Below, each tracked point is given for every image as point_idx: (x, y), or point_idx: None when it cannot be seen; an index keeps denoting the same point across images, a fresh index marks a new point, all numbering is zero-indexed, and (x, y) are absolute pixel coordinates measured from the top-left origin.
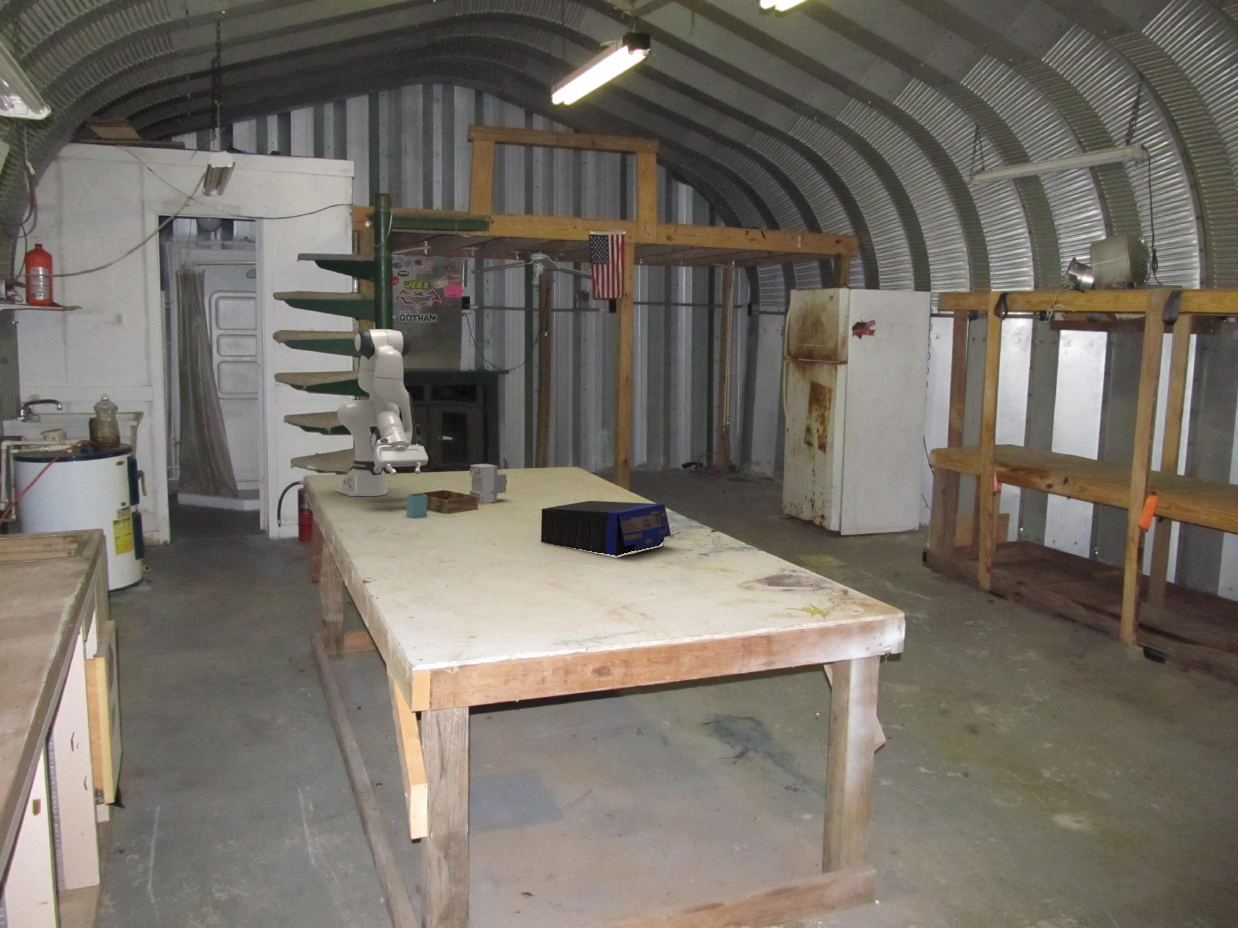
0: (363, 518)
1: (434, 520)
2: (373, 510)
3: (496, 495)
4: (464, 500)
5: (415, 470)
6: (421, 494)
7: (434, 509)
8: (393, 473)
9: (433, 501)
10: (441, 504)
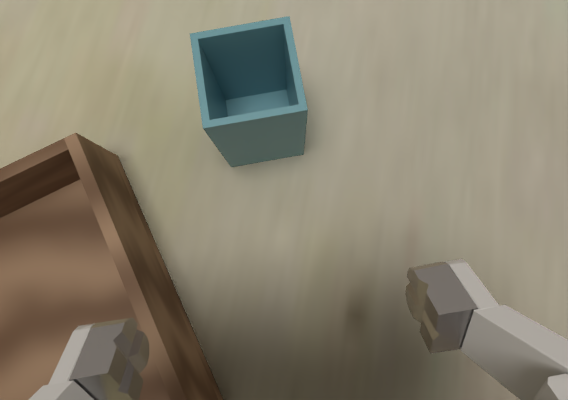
0: (510, 127)
1: (208, 19)
2: None
3: None
4: None
5: (125, 374)
6: (208, 109)
7: (145, 230)
8: (441, 263)
9: (128, 235)
10: (105, 173)
